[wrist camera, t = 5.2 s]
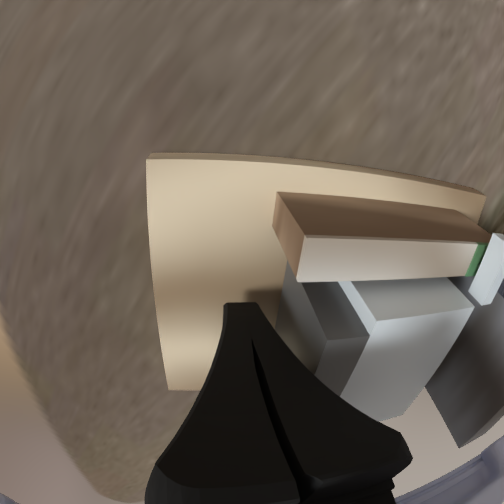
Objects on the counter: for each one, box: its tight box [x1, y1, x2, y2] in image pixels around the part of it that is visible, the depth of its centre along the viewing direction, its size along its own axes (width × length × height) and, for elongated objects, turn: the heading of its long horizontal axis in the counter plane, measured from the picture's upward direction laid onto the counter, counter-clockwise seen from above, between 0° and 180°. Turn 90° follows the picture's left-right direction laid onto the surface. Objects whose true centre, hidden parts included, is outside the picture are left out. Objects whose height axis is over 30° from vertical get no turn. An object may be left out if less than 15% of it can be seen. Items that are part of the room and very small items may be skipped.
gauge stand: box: [146, 153, 504, 448], centre depth 10 cm, size 11×14×8 cm
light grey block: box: [275, 233, 504, 422], centre depth 10 cm, size 8×6×4 cm
